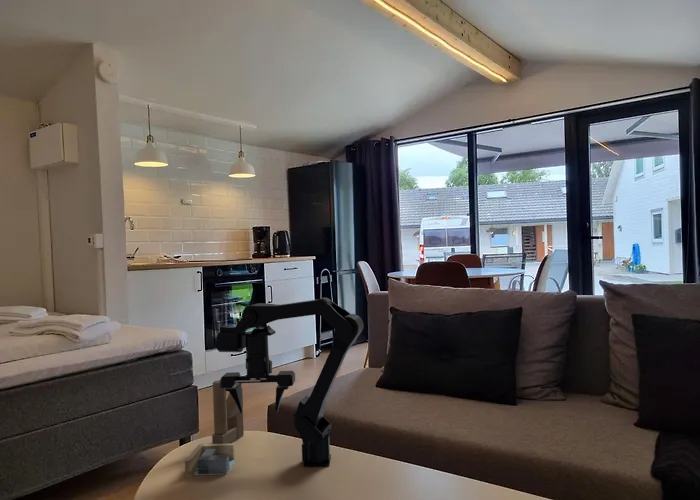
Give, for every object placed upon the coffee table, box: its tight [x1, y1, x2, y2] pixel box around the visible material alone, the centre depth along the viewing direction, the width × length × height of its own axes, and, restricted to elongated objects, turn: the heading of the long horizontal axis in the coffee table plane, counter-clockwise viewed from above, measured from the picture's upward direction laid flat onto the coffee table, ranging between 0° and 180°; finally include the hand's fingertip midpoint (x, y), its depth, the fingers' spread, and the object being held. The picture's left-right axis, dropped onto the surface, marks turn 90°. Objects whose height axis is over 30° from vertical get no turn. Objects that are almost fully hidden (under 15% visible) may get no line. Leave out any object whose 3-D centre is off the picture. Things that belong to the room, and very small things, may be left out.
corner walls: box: [184, 442, 236, 478], centre depth 130 cm, size 9×11×4 cm
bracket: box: [197, 449, 230, 475], centre depth 129 cm, size 7×7×4 cm
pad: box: [193, 459, 236, 476], centre depth 129 cm, size 8×8×1 cm
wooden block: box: [211, 379, 245, 444], centre depth 148 cm, size 4×11×18 cm, turn 160°
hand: (259, 412), depth 134 cm, fingers open, 9 cm apart
